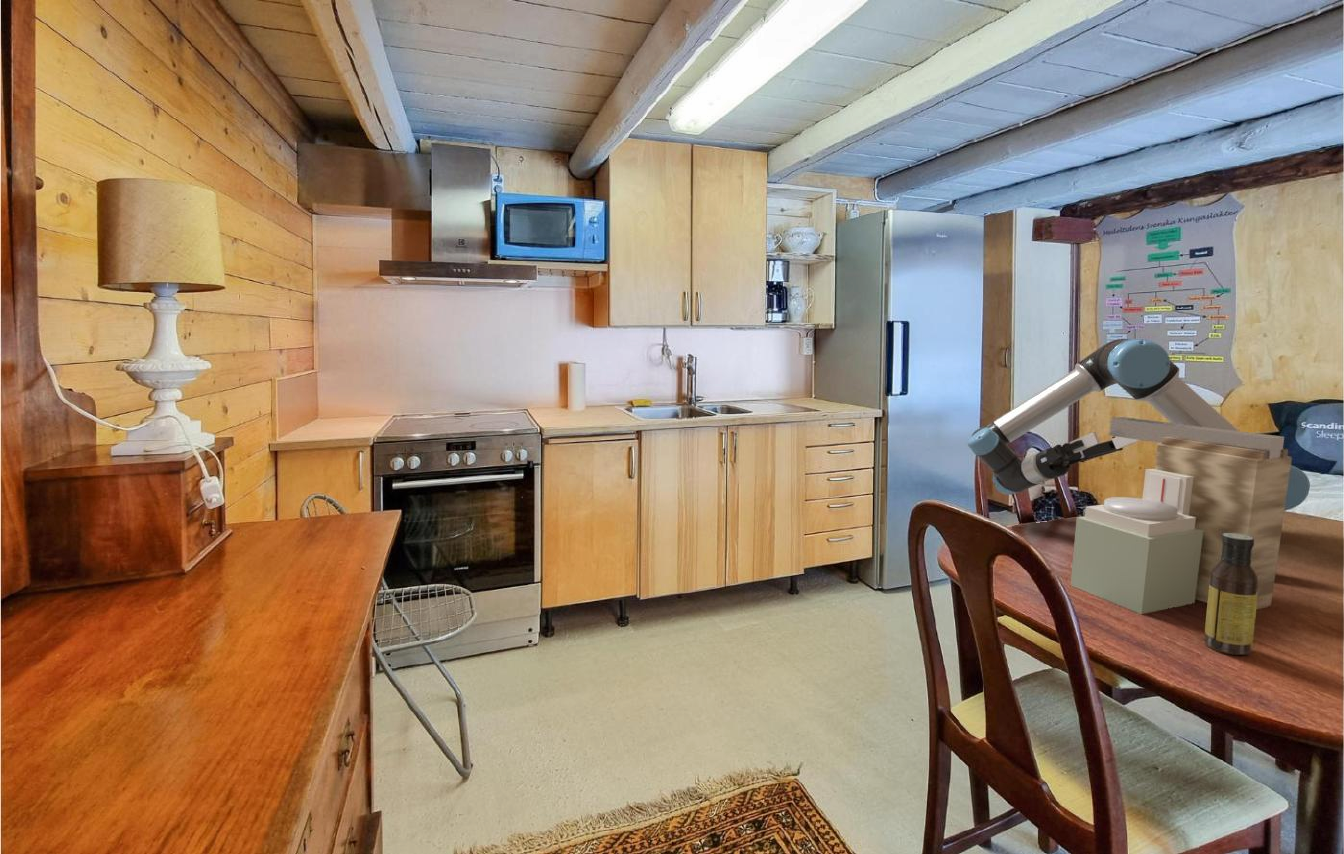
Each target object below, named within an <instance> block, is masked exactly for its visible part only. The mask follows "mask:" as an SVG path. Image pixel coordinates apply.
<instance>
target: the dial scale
mask: <svg viewBox="0 0 1344 854" xmlns="http://www.w3.org/2000/svg"><path fill="white" fill-rule="evenodd" d="M1192 485H1193V477H1192V476H1187V475H1182V474H1177V473H1172V472H1167V471H1162V470H1156V469H1155V468H1147V469H1145V471H1144V481H1143V491H1142V492H1143V493H1142V498H1139V497H1128V496H1125V497H1123V496H1117V497H1116V496H1115V497H1113V496H1112V497H1108V498H1105V499H1104V501H1103V504H1096V505H1089V506H1085V512H1084V517H1085V519H1088V520H1092V521H1095V522H1099V523H1102V524H1105V525H1109V526H1112V527H1116V528H1119V529H1122V530H1126V531H1129V532H1133V533H1136V534H1139V535H1143V536H1146V537H1151V536H1158V535H1164V534H1170V533H1177V532H1183V531H1190V530H1194V529H1195V521H1196V517H1192V516H1189V510H1190V502H1191V493H1192Z"/></svg>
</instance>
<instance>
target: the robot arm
mask: <svg viewBox="0 0 1344 854" xmlns="http://www.w3.org/2000/svg"><path fill="white" fill-rule="evenodd" d="M1179 375H1180V368H1179V367H1178V366H1177V365H1176V364H1175V363H1174V362H1173V361H1172V360H1171V359H1170V356H1169V353H1168V352H1167V351H1166V350H1165V348H1164V347H1162V345H1160V344H1158V343H1156V342H1154V341H1152V340H1148V339H1145V338H1141V339H1140V338H1133V339H1130V338H1118V339H1114V340H1111V341H1109V342H1106V343H1105V344H1103V345H1102V346H1100V347H1099V348H1097V349H1096V350H1094V351H1093V352H1092V353H1090V354H1089V355H1087V356H1086V357H1085V358H1083V359H1082V360H1080V361H1079V362H1077V363H1076V364H1075V366H1074V369H1073V370H1071V371H1069V373H1067V374H1065V375H1064V376H1063V377H1060V378H1059V379H1058V380H1055V381H1054V382H1052V383H1051V384H1049V385H1048V386H1047V387H1045V388H1044V389H1042V390H1040V391H1039V392H1037V393H1036V394H1034V395H1032V396H1031V397H1030V398H1028V399H1027V400H1025V401H1024V402H1022V403H1020V404H1018V405H1017V406H1015V407H1014V408H1012V409H1011V410H1009V411H1007V412H1006V413H1004V414H1003V415H1001V416H1000V417H999V418H997V419H995V420H994V421H992V422H990V423H989V424H987V425H985V426H984V427H980V428H979V427H978V428H977V429H975V430H974V431H973V432H972V433H971V434H970V437H969V439H968V441H967V446H968V447H969V448H970V450H971V452H973V454H974V455H976V456H977V457H978V458H979V459H980V460H981V461H982V462H983V463H984V465H986V466H987V467H988V468H989V469H990V470H991V471H992V473H993V475H992V482H993V484H994V486H995V489H996V490H997V491H998V492H999V493H1001V494H1003V495H1008V496H1009V495H1013V494H1019V493H1022V492H1024V491H1027V490H1029V489H1031V488H1033V487H1036V486H1038V485H1041V486H1045V485H1046V483H1045V482H1049V481H1051V480H1055V479H1058V478H1059V477H1062V476H1065V475H1066V474H1068V472H1069V470H1070V466H1074V465H1077V464H1078V463H1085V462H1087V461H1090V460H1093V459H1096V458H1099V457H1103V456H1106V455H1109V454H1113V453H1115V452H1119V451H1123V450H1124V448H1125V447H1127V446H1130V445H1132V444H1134V443H1138V442H1139V441H1140V442H1141V440H1137V439H1130V438H1124V437H1117V436H1111V437H1112V438H1111V440H1107V441H1104V442H1100V439H1099V436H1098V435H1097V432H1096V431H1092V432H1090V433H1087V434H1086V435H1083V436H1081V437H1078V438H1076V439H1074V440H1071V441H1069V442H1067V443H1063V444H1062V445H1061V444H1056V445H1055V446H1053V447H1048V448H1046V449H1044V450H1042V451H1039V452H1037V453H1034V454H1032V455H1029V456H1028V457H1025V458H1024V459H1021V458H1020V457H1019V456H1018V455H1017V454H1016V453H1015V452H1014V451H1013V450H1012V449H1011V448H1010V447H1009V446H1008V445H1009V444H1010V443H1011V442H1013V441H1015V440H1017V439H1018V438H1020V437H1021V436H1023V435H1025V434H1027V432H1030V431H1031V430H1032V429H1034V428H1036V427H1038V426H1039V425H1041V424H1042V423H1044V422H1046V421H1047V420H1049V419H1050V418H1052V417H1054V416H1055V415H1057V414H1058V413H1060V412H1062V411H1063V410H1065V409H1066V408H1068V407H1070V406H1071V405H1073V404H1075V403H1076V402H1078V401H1080V400H1081V399H1083V398H1084V397H1086V396H1088V395H1089V394H1091V393H1093V392H1099V393H1100V392H1102V391H1103V390H1105V389H1107V388H1108V387H1111V386H1114V385H1116V384H1117V385H1118V386H1120V388H1122V389H1123V390H1124V391H1125V392H1126V393H1127V394H1129V396H1131V397H1132V398H1133V400H1135V401H1146V402H1147V403H1148V404H1149V405H1151V406H1152V407H1153V408H1154V409H1155V410H1156V411H1157V412H1159V414H1160V415H1162V416H1163V417H1164V418H1166V420H1167V421H1168V422H1169V423H1175V424H1183V425H1191V426H1199V427H1208V428H1216V429H1224V430H1232V431H1240V430H1238V429H1237V428H1236V427H1235V425H1233V424H1232V423H1231V422H1230V421H1228V419H1226V418H1225V417H1224V416H1223V415H1222V414H1220V412H1219V411H1217V410H1216V409H1215V408H1214V407H1213V406H1212V405H1211V404H1209V403H1208V402H1207V401H1206V400H1205V399H1204V398H1202V396H1200V395H1199V394H1198V393H1197V392H1196V390H1193V389H1192V388H1191V387H1190V385H1188V384H1187V383H1186V382H1185V381H1183V380H1182V379H1181V378H1180V377H1179ZM1310 488H1311V482H1310V480H1309V477H1308V475H1307V474H1306V473H1305V472H1304V471H1303V470H1301V469H1300V468H1299V467H1296V466H1295V465H1292V464H1291V467H1290V474H1289V481H1288V488H1287V495H1286V502H1285V509H1284V512H1286V511H1289V510H1291V509H1294V508H1296V507H1298V506H1300V505H1301V504H1302V503H1303V502H1304V501H1305V500H1306V499H1307V497H1308V495H1309V492H1310Z"/></svg>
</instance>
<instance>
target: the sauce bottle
mask: <svg viewBox="0 0 1344 854" xmlns="http://www.w3.org/2000/svg"><path fill="white" fill-rule="evenodd" d="M1222 543H1223V548H1222V555H1221V561H1220V562H1219V563H1218V564H1217V565H1216V566H1215V567H1214V568H1213V569H1212V571H1211V580H1210V584H1209V593H1208V603H1206V604H1207V606H1206V615H1205V616H1206V617H1205V625H1204V626H1205V627H1204V633H1205V636H1204V643H1205V645H1207V646H1208V647H1209V648H1210V649H1212V650H1214V651H1217V652H1219V653H1223V654H1228V655H1237V656H1239V655H1240V656H1241V655H1247V654H1250V653H1251V649H1252V644H1253V641H1254V632H1255V626H1256V625H1255V624H1256V615H1257V610H1256V606H1257V595H1258V578H1257V576H1256V574H1255V572H1254V571H1253V569H1252V568H1251V566H1250V565H1251V551H1252V548H1253V546H1254V538H1252V537H1250V536H1247V535H1243V534H1236V533H1224V534H1223V535H1222Z"/></svg>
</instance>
